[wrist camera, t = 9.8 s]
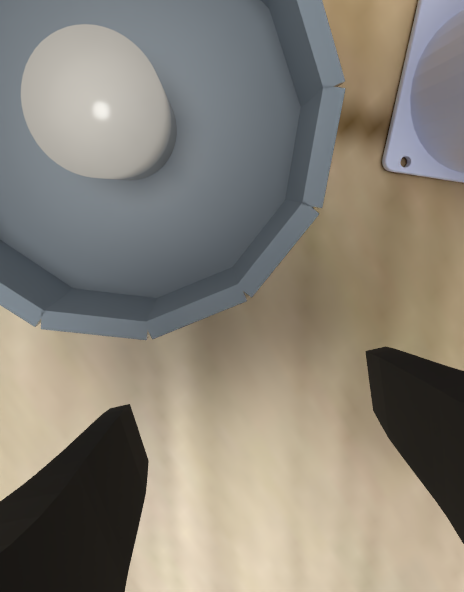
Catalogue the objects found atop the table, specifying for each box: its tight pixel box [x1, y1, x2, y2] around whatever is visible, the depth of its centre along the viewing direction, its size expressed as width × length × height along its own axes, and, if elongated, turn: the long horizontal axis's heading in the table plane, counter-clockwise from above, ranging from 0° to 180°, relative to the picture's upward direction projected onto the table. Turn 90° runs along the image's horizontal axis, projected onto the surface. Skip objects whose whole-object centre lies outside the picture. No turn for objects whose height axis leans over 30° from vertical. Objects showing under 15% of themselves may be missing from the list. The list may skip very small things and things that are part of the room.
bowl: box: [0, 0, 345, 340], centre depth 16 cm, size 17×17×4 cm
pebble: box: [21, 24, 177, 181], centre depth 15 cm, size 4×4×5 cm
